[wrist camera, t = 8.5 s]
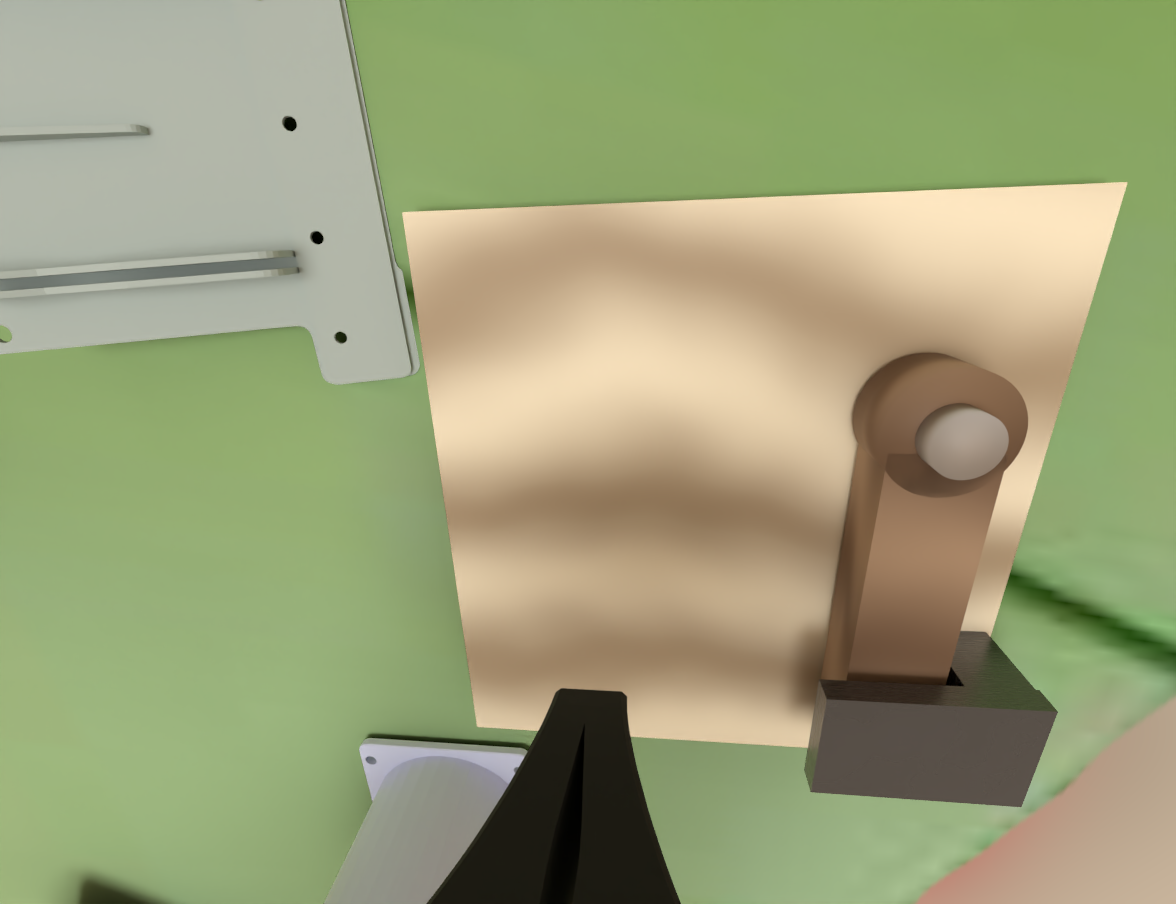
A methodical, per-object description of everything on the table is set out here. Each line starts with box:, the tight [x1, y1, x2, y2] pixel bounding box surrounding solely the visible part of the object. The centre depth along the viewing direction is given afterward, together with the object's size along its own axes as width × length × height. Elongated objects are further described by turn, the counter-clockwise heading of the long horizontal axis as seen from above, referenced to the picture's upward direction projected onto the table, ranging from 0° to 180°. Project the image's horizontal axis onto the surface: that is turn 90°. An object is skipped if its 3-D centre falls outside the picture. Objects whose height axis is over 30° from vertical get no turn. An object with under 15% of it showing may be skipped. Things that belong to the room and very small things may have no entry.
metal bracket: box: [0, 0, 420, 385], centre depth 16 cm, size 14×6×15 cm
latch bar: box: [821, 353, 1028, 686], centre depth 17 cm, size 14×4×3 cm, turn 2°
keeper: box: [804, 631, 1058, 807], centre depth 18 cm, size 4×6×3 cm, turn 92°
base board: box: [402, 182, 1128, 748], centre depth 19 cm, size 20×19×1 cm
